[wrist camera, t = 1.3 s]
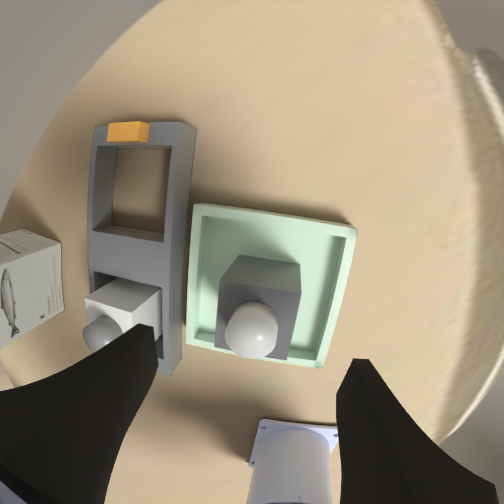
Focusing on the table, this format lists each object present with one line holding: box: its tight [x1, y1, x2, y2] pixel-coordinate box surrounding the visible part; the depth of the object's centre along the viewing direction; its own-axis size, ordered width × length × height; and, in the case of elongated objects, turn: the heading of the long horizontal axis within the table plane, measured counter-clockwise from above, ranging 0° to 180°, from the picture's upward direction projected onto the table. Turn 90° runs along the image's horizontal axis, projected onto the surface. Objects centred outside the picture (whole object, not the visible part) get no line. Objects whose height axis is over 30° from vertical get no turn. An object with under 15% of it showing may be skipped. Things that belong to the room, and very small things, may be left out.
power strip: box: [87, 121, 197, 376], centre depth 18 cm, size 18×7×4 cm, turn 173°
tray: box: [186, 203, 358, 368], centre depth 18 cm, size 10×10×2 cm
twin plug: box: [83, 277, 163, 353], centre depth 18 cm, size 4×4×6 cm
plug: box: [214, 254, 302, 361], centre depth 16 cm, size 4×4×6 cm
